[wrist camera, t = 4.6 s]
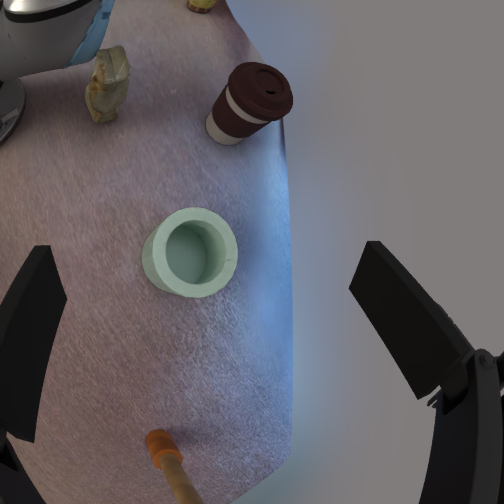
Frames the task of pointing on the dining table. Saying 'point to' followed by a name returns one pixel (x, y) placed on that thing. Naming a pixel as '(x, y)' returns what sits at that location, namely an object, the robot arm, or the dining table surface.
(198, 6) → the sauce bottle
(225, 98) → the coffee cup
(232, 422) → the dining table surface
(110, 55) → the sculpture
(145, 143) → the dining table surface
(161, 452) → the orange-tipped wooden dowel
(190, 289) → the jar
